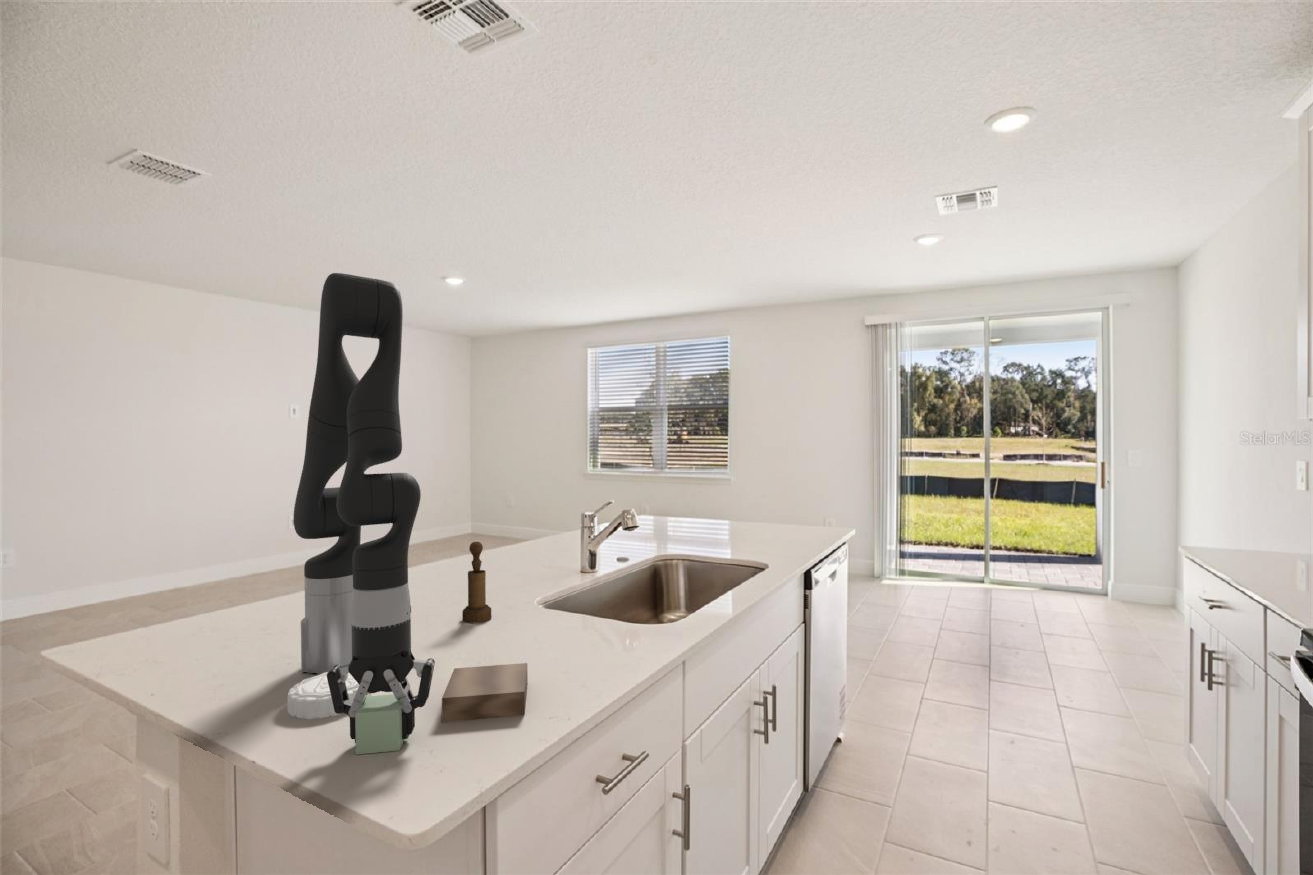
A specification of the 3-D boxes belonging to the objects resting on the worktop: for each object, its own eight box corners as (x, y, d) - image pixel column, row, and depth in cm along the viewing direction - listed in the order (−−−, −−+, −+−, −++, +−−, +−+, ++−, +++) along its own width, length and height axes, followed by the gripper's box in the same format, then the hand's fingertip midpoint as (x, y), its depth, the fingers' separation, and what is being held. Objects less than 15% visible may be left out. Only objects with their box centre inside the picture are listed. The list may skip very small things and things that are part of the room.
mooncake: (365, 714, 96) (365, 691, 96) (277, 725, 92) (277, 701, 92) (377, 684, 107) (376, 664, 107) (299, 693, 104) (298, 672, 104)
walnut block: (442, 725, 92) (441, 698, 92) (454, 692, 104) (454, 668, 104) (524, 717, 94) (524, 691, 94) (527, 686, 106) (527, 663, 106)
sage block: (355, 754, 83) (355, 713, 83) (367, 735, 88) (367, 696, 88) (399, 750, 84) (398, 709, 84) (408, 731, 89) (407, 693, 89)
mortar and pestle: (497, 617, 145) (496, 541, 145) (476, 625, 140) (474, 545, 139) (478, 613, 149) (477, 538, 148) (456, 620, 143) (455, 543, 143)
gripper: (315, 628, 81) (317, 757, 81) (430, 621, 83) (432, 747, 83) (335, 612, 88) (337, 730, 88) (440, 606, 91) (441, 721, 91)
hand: (383, 738), depth 86 cm, fingers closed on sage block, 5 cm apart
